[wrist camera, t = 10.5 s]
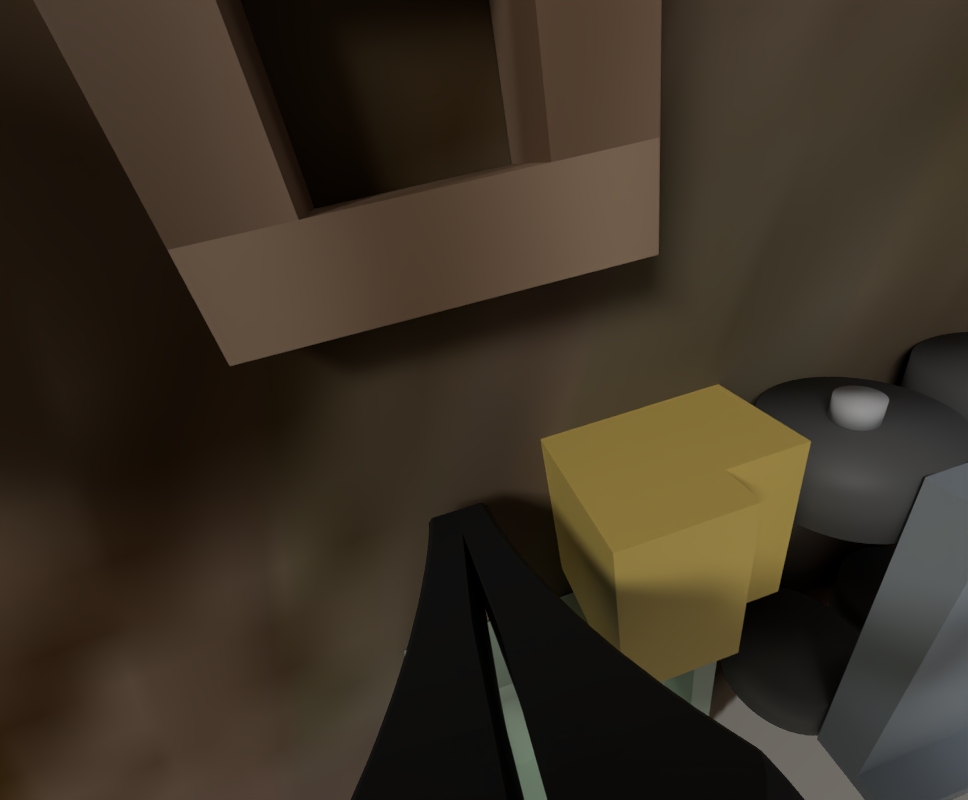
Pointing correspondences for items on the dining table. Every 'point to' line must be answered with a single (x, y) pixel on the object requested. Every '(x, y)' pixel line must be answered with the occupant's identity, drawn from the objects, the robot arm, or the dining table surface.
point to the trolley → (876, 580)
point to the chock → (675, 523)
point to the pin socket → (383, 217)
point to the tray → (686, 685)
